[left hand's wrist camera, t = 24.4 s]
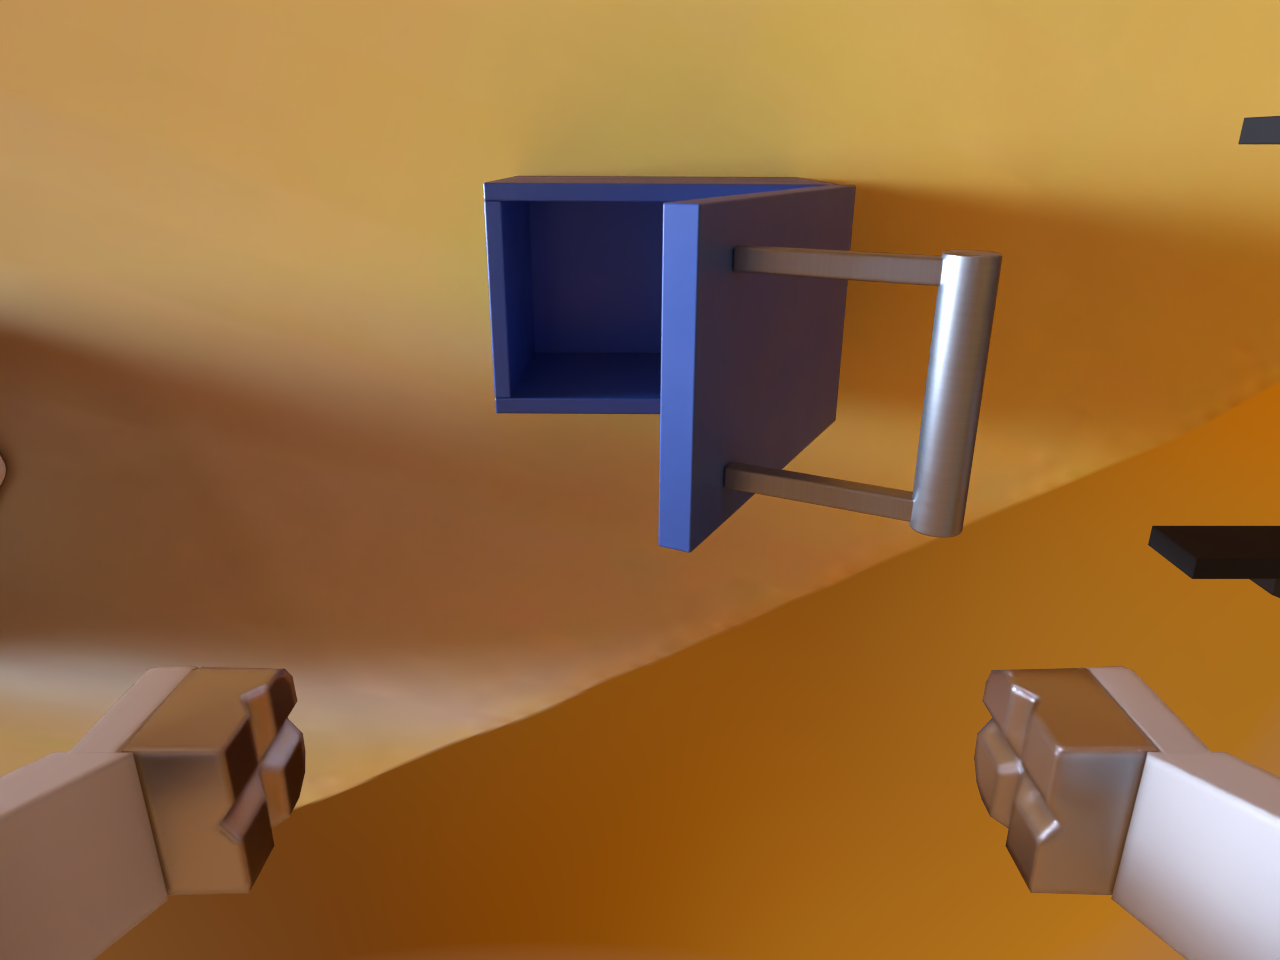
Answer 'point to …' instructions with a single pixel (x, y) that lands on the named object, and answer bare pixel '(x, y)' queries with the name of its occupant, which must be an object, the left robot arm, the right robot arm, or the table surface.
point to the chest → (585, 286)
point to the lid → (799, 359)
